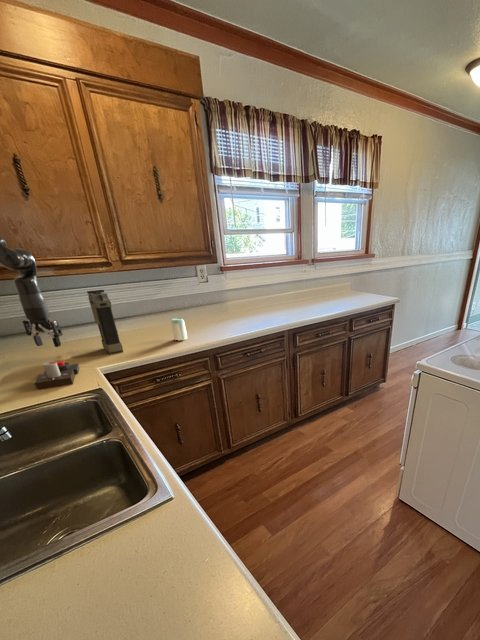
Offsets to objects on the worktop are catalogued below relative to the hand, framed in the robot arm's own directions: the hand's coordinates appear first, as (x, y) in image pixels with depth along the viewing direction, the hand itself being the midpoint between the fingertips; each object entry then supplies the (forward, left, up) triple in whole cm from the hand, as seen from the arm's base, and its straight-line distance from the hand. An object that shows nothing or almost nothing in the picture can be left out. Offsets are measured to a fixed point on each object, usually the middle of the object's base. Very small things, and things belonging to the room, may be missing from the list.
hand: (49, 346), depth 133 cm
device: (+20, +31, -14) cm, 40 cm away
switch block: (0, +5, -14) cm, 15 cm away
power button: (0, +5, -10) cm, 11 cm away
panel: (-1, -6, -14) cm, 15 cm away
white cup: (-1, -6, -11) cm, 13 cm away
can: (+55, +34, -14) cm, 66 cm away
